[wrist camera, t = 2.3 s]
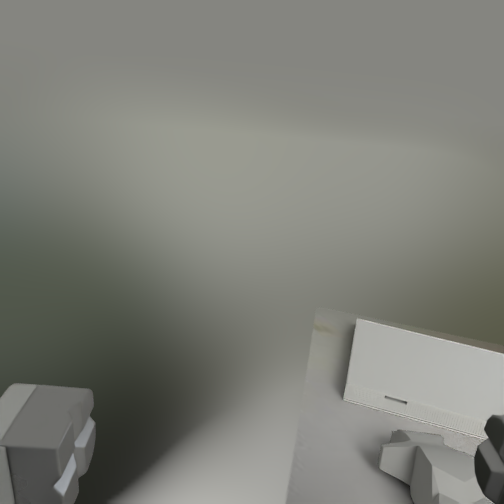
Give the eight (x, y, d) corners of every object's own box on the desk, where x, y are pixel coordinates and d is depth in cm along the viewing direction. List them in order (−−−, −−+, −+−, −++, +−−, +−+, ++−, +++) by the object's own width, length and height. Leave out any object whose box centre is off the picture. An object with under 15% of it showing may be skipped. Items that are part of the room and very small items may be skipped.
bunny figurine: (454, 424, 50) (555, 511, 35) (446, 469, 50) (542, 575, 35) (369, 412, 49) (434, 496, 34) (360, 459, 49) (422, 562, 34)
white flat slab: (558, 366, 81) (663, 468, 51) (554, 379, 82) (656, 487, 52) (357, 318, 89) (346, 382, 59) (354, 330, 90) (342, 400, 60)
